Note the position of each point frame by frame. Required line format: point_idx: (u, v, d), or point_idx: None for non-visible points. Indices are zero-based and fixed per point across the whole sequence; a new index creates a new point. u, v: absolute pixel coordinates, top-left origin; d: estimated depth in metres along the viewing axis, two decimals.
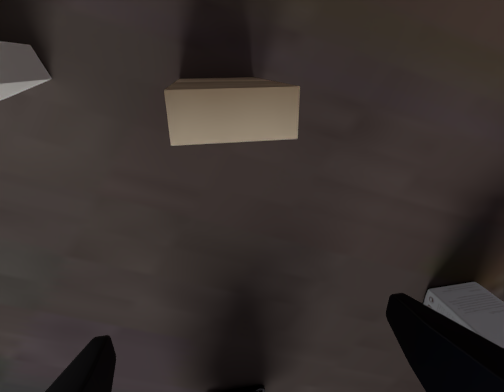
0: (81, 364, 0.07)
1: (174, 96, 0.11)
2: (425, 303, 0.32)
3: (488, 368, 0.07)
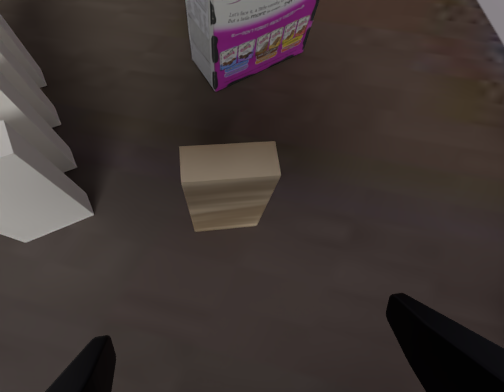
0: (81, 364, 0.07)
1: (186, 150, 0.15)
2: None
3: (488, 368, 0.07)
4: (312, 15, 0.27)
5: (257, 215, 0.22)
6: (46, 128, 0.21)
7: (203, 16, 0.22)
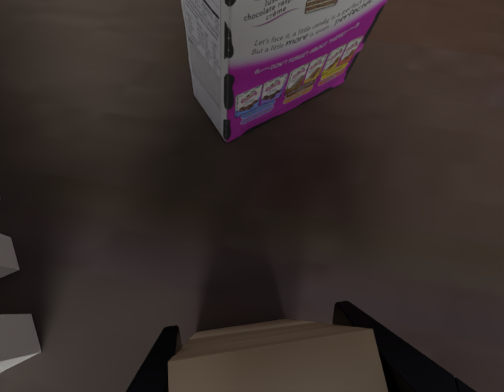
0: (161, 351, 0.08)
1: (183, 370, 0.07)
2: None
3: (412, 383, 0.07)
4: (365, 36, 0.19)
5: None
6: None
7: (213, 45, 0.14)
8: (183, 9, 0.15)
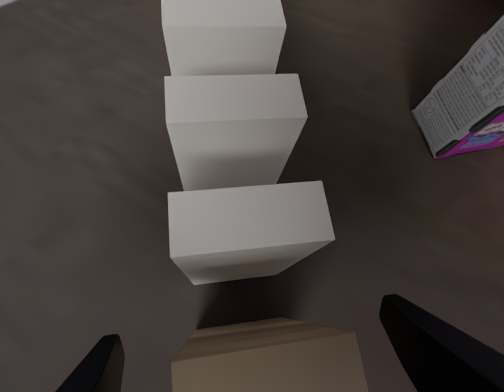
0: (92, 362, 0.07)
1: (185, 370, 0.07)
2: None
3: (479, 370, 0.07)
4: None
5: None
6: None
7: None
8: (477, 44, 0.18)
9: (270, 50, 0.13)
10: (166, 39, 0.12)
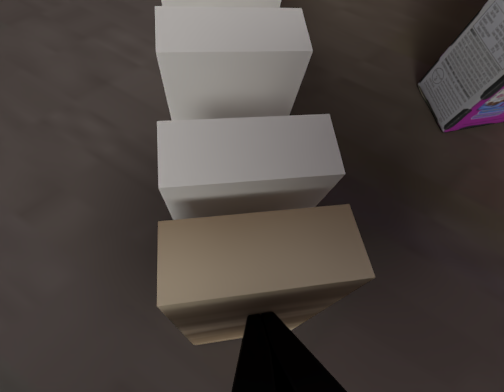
0: (255, 337, 0.08)
1: (172, 228, 0.07)
2: None
3: None
4: None
5: (298, 322, 0.13)
6: None
7: None
8: (489, 3, 0.17)
9: None
10: None
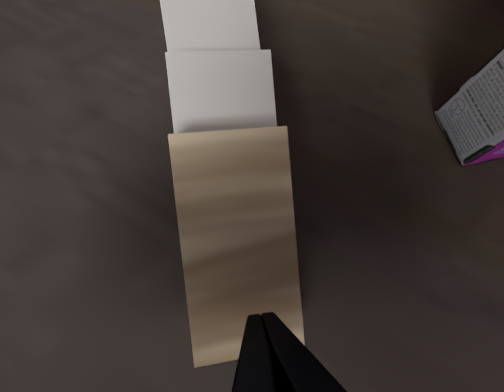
0: (255, 337, 0.08)
1: None
2: None
3: None
4: None
5: (293, 282, 0.13)
6: None
7: None
8: None
9: None
10: None
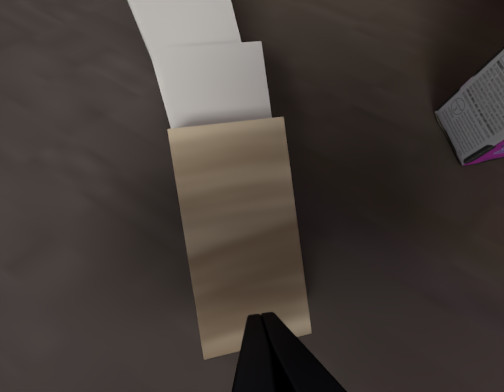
0: (255, 337, 0.08)
1: None
2: None
3: None
4: None
5: (297, 270, 0.14)
6: None
7: None
8: None
9: None
10: None
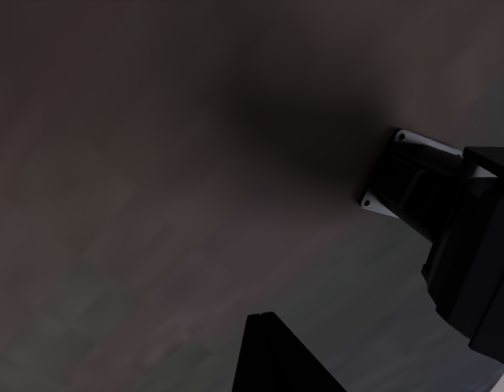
0: (255, 337, 0.08)
1: None
2: None
3: None
4: None
5: None
6: None
7: None
8: None
9: None
10: None
